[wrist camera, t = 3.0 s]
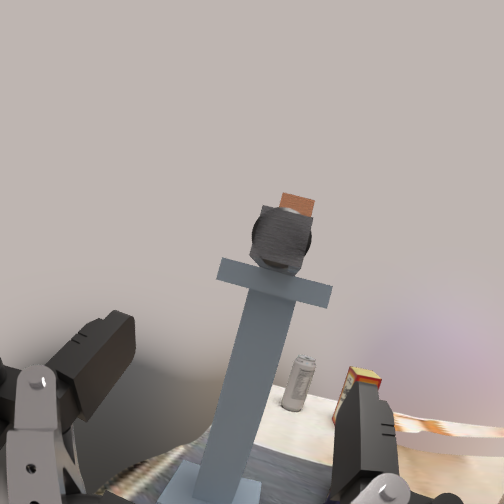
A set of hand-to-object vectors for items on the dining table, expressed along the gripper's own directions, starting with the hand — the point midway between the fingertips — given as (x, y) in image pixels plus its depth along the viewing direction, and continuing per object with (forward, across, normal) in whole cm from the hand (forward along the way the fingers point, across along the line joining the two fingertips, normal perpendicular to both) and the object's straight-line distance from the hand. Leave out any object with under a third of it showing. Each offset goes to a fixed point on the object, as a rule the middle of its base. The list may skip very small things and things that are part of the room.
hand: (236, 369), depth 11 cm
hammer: (+19, 0, +6) cm, 19 cm away
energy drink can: (+51, -12, +61) cm, 81 cm away
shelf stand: (+8, 0, +36) cm, 37 cm away
